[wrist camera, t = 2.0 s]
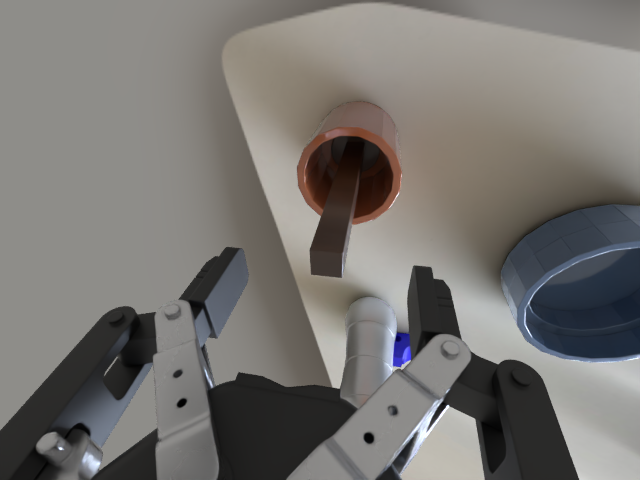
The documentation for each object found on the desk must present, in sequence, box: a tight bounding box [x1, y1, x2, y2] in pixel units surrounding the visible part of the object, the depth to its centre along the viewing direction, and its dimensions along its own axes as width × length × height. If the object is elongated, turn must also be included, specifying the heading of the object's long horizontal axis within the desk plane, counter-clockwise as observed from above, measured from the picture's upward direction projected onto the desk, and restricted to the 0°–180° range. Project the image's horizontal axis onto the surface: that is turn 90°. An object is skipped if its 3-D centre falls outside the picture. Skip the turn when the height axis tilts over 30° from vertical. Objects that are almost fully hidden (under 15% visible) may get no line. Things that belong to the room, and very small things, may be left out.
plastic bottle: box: [340, 297, 397, 409], centre depth 33 cm, size 6×7×20 cm
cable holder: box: [393, 333, 411, 367], centre depth 42 cm, size 8×4×4 cm, turn 94°
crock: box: [297, 101, 402, 224], centre depth 26 cm, size 8×8×8 cm
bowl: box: [501, 204, 640, 362], centre depth 30 cm, size 15×15×6 cm
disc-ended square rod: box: [310, 136, 380, 278], centre depth 22 cm, size 4×4×17 cm
